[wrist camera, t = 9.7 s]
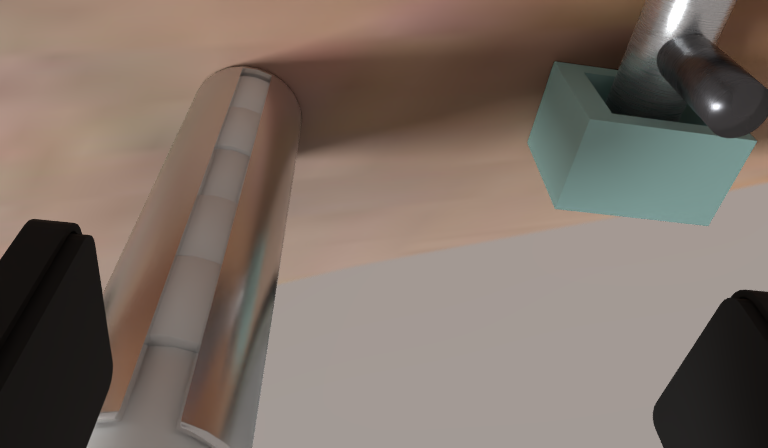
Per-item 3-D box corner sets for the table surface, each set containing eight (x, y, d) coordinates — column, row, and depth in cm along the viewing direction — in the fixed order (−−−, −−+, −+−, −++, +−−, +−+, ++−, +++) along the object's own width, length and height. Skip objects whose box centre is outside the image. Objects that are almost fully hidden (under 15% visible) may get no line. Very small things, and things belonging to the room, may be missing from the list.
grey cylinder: (324, 117, 39) (287, 510, 19) (254, 179, 41) (156, 582, 21) (241, 42, 36) (94, 415, 16) (171, 113, 38) (-32, 512, 18)
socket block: (554, 61, 37) (590, 119, 31) (697, 81, 38) (757, 140, 32) (527, 142, 40) (555, 208, 35) (659, 159, 41) (708, 226, 36)
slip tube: (708, -205, 28) (838, -186, 21) (792, -189, 29) (950, -164, 21) (580, 130, 38) (635, 226, 31) (644, 138, 39) (714, 235, 31)
